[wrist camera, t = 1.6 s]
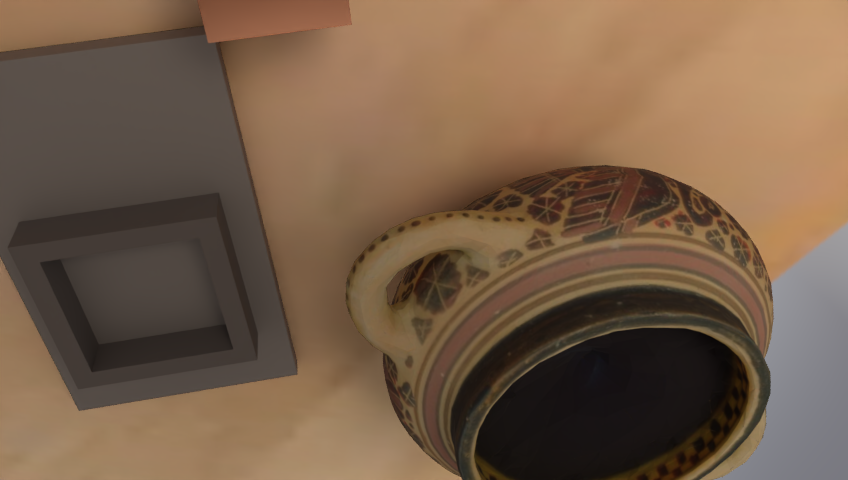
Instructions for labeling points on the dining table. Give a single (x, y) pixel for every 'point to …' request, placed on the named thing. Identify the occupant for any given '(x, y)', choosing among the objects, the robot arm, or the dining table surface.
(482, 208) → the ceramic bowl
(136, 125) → the base board
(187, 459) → the dining table surface
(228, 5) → the terracotta block
